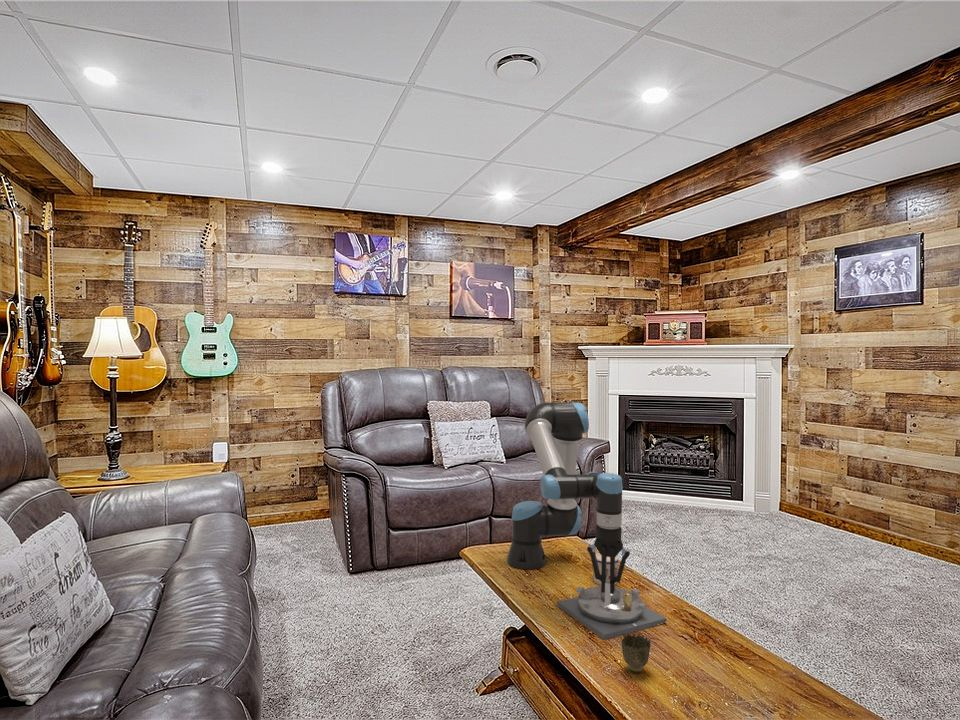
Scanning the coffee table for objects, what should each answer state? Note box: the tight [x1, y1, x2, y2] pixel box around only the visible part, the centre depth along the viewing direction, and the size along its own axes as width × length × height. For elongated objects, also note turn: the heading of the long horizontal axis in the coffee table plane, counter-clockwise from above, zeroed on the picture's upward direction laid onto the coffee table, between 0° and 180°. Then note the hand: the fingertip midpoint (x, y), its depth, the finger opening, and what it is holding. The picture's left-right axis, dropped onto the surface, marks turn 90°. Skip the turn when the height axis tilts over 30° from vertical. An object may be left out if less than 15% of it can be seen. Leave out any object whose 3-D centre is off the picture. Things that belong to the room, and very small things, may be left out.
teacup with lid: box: [592, 552, 622, 586], centre depth 205 cm, size 12×9×12 cm
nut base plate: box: [556, 596, 667, 641], centre depth 179 cm, size 24×24×2 cm
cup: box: [620, 633, 651, 674], centre depth 148 cm, size 8×7×8 cm
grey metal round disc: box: [575, 585, 647, 624], centre depth 179 cm, size 20×22×8 cm
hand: (607, 602), depth 172 cm, fingers closed
